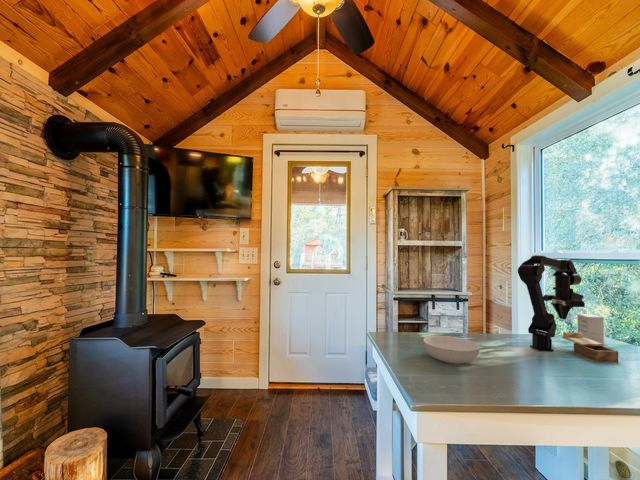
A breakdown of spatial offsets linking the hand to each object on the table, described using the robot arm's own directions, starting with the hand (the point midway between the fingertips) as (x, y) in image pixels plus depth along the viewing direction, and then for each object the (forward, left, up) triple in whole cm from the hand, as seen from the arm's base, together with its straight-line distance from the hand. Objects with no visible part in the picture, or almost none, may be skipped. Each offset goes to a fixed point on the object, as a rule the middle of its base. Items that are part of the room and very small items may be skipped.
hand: (562, 319), depth 151 cm
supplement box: (+19, +7, -12) cm, 24 cm away
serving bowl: (-62, -22, -12) cm, 67 cm away
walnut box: (0, -17, -12) cm, 21 cm away
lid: (0, -11, -7) cm, 13 cm away
